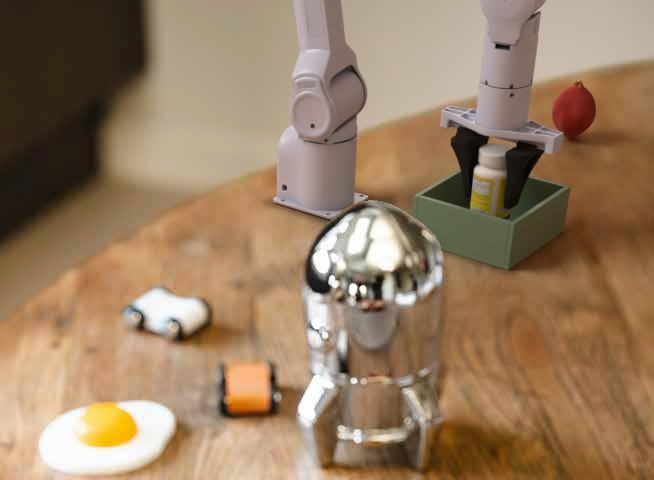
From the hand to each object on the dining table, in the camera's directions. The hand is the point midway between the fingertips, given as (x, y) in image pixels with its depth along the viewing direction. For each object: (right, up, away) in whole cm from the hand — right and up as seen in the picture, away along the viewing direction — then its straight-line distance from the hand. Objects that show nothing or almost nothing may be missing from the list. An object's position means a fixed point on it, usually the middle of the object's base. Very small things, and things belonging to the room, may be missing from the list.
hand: (491, 200), depth 141 cm
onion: (+16, +17, +26) cm, 35 cm away
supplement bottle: (0, -2, +2) cm, 3 cm away
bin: (0, -3, +3) cm, 4 cm away
